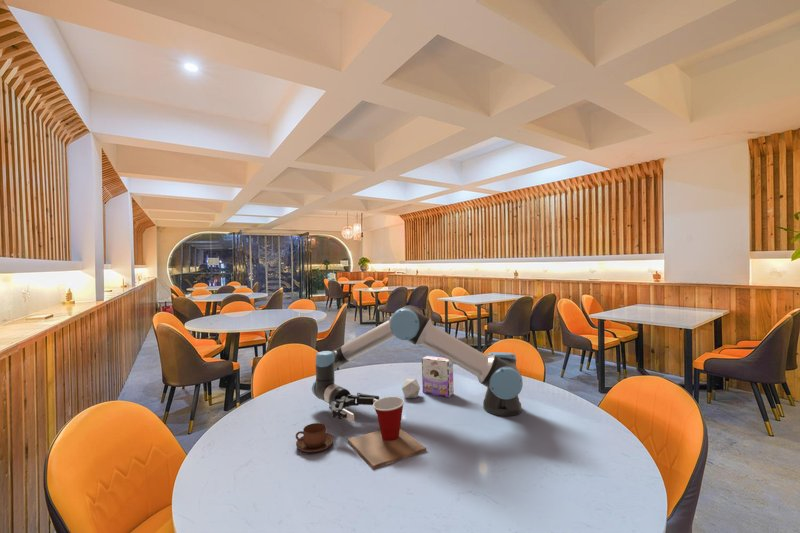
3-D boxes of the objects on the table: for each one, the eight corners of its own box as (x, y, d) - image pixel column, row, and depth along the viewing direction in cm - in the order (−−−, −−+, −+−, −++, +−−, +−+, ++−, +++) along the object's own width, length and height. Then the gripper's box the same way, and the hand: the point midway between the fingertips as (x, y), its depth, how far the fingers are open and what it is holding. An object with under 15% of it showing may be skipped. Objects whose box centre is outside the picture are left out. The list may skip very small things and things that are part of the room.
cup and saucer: (299, 459, 108) (299, 439, 108) (293, 442, 119) (293, 424, 119) (337, 450, 114) (337, 431, 114) (328, 435, 124) (328, 417, 125)
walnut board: (396, 428, 128) (396, 425, 128) (426, 450, 112) (426, 447, 112) (347, 442, 119) (347, 439, 119) (373, 469, 102) (373, 465, 102)
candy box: (454, 394, 163) (453, 358, 163) (448, 398, 158) (448, 361, 158) (427, 388, 170) (427, 354, 170) (421, 392, 165) (421, 357, 165)
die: (414, 403, 154) (425, 383, 157) (397, 392, 155) (408, 373, 158) (413, 403, 161) (423, 384, 164) (397, 393, 163) (407, 374, 166)
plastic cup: (370, 433, 123) (369, 398, 123) (399, 427, 126) (398, 394, 127) (378, 447, 113) (377, 410, 113) (410, 441, 116) (408, 404, 116)
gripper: (363, 398, 146) (397, 413, 130) (308, 415, 130) (338, 435, 114) (363, 380, 146) (396, 393, 130) (308, 394, 130) (338, 412, 114)
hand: (369, 412), depth 122 cm, fingers open, 13 cm apart
